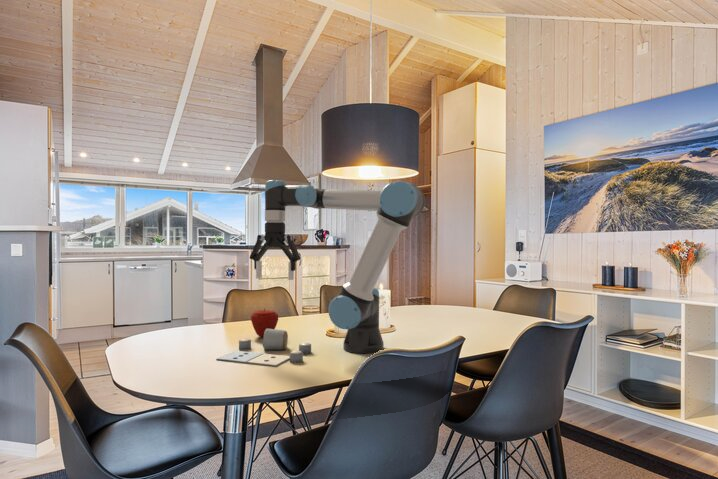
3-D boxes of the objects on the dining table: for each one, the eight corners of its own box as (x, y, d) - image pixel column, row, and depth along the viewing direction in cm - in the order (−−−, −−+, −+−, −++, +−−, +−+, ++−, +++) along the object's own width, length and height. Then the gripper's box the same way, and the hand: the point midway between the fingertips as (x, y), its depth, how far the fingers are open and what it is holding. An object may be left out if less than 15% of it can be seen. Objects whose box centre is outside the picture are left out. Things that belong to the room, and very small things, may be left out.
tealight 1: (253, 347, 168) (253, 339, 168) (246, 350, 164) (246, 341, 164) (243, 346, 170) (243, 338, 170) (236, 349, 165) (236, 340, 165)
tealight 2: (304, 360, 151) (304, 350, 151) (299, 364, 147) (299, 354, 147) (293, 359, 153) (293, 349, 153) (287, 362, 148) (287, 352, 148)
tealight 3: (313, 352, 162) (313, 343, 162) (307, 355, 158) (307, 345, 158) (302, 351, 164) (302, 342, 164) (296, 353, 160) (296, 344, 160)
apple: (283, 336, 187) (283, 307, 187) (265, 341, 178) (265, 311, 178) (264, 333, 193) (264, 305, 193) (245, 337, 184) (245, 308, 184)
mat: (292, 357, 154) (292, 356, 154) (276, 366, 143) (276, 365, 143) (236, 351, 162) (236, 350, 162) (216, 360, 151) (216, 358, 151)
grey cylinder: (285, 351, 162) (285, 330, 162) (262, 351, 162) (262, 330, 162) (289, 345, 173) (289, 325, 173) (268, 345, 173) (268, 325, 173)
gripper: (309, 222, 165) (309, 279, 165) (251, 222, 173) (251, 276, 174) (300, 221, 158) (300, 281, 158) (240, 221, 166) (240, 278, 166)
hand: (274, 279), depth 166 cm, fingers open, 13 cm apart
